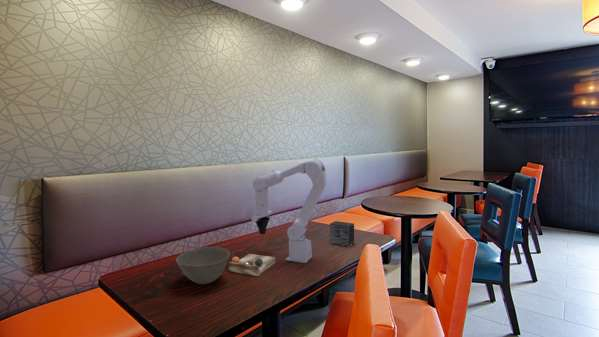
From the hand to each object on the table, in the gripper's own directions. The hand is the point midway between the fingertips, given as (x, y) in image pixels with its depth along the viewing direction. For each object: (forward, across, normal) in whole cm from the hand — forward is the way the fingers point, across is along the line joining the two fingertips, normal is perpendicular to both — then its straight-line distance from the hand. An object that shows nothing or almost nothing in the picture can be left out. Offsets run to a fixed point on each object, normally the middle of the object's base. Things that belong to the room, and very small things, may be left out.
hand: (262, 233), depth 141 cm
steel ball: (+8, +16, +2) cm, 18 cm away
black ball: (+6, +16, +7) cm, 18 cm away
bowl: (+10, +31, -7) cm, 33 cm away
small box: (+10, -28, +29) cm, 42 cm away
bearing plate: (+10, +12, +2) cm, 16 cm away
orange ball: (+6, +17, -3) cm, 19 cm away
